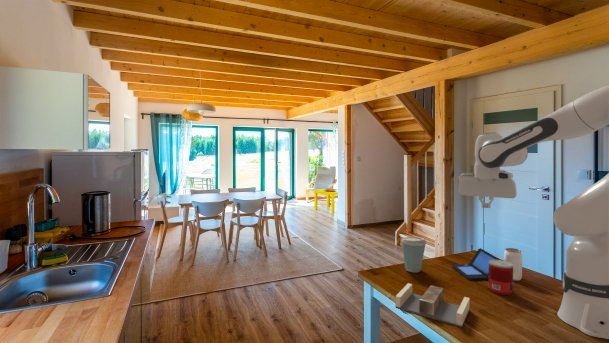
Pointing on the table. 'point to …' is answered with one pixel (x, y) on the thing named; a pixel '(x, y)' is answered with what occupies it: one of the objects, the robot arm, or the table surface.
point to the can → (514, 261)
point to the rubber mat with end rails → (444, 311)
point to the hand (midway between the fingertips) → (486, 207)
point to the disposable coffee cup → (413, 253)
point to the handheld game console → (476, 266)
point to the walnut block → (431, 300)
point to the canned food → (500, 277)
